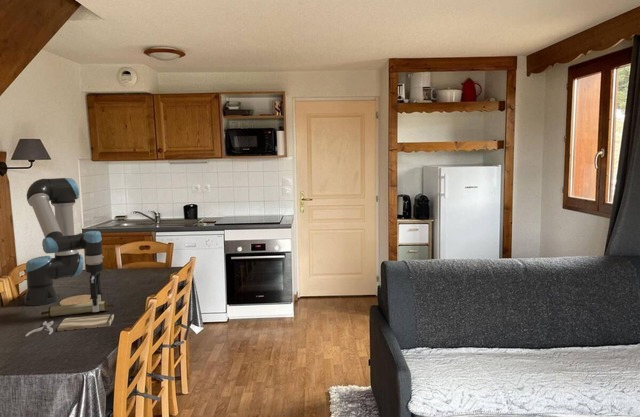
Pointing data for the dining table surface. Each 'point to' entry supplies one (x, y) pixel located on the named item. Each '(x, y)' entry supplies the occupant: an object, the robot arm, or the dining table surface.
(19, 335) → the dining table surface
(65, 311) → the rolling pin
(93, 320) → the marking board
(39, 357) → the dining table surface
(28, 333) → the pliers
